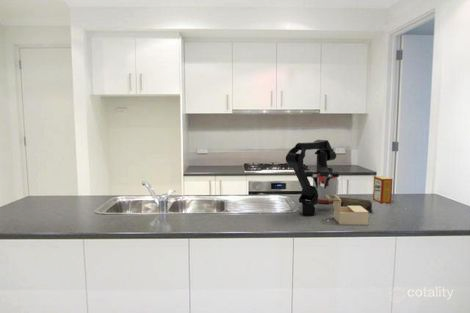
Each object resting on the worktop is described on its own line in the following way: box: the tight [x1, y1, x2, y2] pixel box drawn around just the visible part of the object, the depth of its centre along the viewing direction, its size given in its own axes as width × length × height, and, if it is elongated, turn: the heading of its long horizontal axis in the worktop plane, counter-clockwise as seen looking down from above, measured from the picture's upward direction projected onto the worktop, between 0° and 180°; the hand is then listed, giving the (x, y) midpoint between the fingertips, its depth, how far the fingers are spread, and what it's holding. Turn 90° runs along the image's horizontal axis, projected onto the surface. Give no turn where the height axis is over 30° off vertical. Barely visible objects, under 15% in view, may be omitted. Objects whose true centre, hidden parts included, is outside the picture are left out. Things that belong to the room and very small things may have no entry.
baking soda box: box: [372, 175, 393, 205], centre depth 196 cm, size 10×6×16 cm
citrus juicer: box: [312, 175, 338, 204], centre depth 196 cm, size 16×17×20 cm
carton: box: [333, 206, 370, 226], centre depth 159 cm, size 14×11×7 cm
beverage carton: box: [338, 196, 373, 214], centre depth 179 cm, size 8×19×7 cm, turn 70°
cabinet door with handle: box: [324, 194, 341, 213], centre depth 159 cm, size 7×11×6 cm
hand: (320, 188), depth 177 cm, fingers open, 4 cm apart
